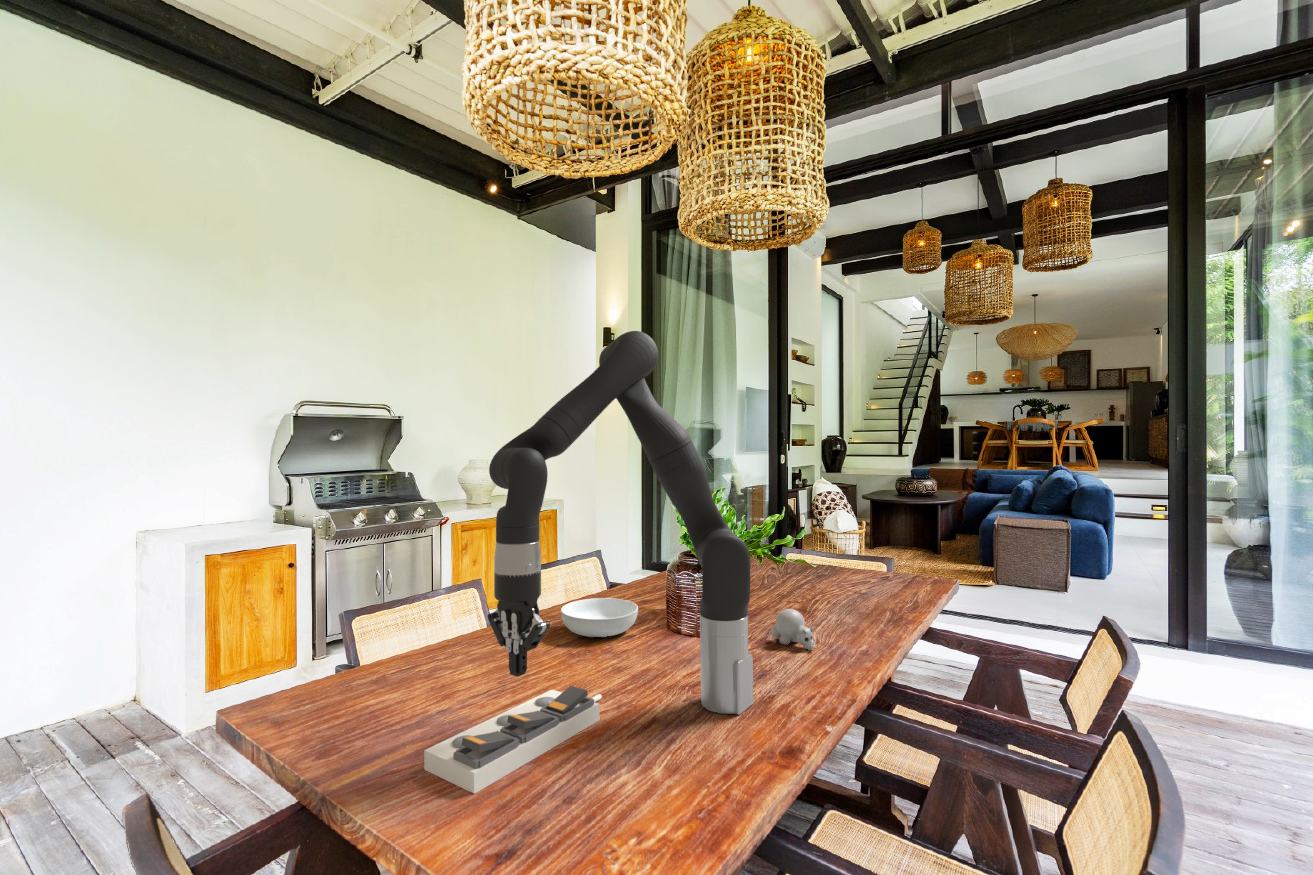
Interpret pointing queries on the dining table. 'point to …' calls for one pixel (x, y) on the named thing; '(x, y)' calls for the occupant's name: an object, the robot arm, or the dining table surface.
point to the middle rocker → (529, 719)
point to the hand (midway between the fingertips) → (517, 674)
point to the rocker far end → (486, 741)
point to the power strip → (526, 744)
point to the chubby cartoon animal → (793, 629)
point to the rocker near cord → (567, 700)
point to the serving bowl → (599, 616)
